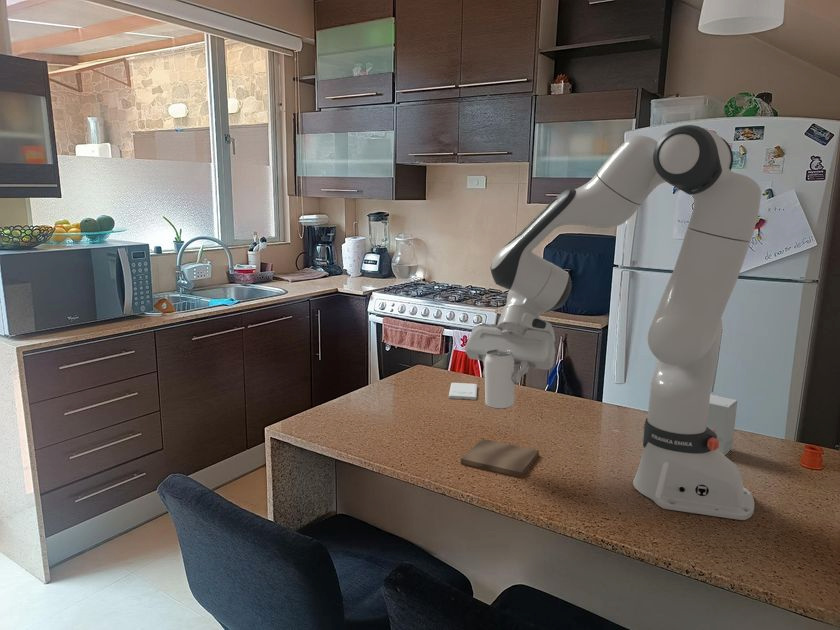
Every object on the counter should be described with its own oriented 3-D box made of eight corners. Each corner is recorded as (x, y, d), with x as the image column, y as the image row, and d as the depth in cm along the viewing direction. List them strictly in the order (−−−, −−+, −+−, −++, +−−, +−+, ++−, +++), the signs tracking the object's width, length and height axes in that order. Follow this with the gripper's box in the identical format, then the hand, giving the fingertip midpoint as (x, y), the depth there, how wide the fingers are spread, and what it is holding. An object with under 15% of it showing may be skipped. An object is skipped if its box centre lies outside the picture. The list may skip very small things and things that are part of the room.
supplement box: (732, 449, 146) (739, 399, 143) (722, 459, 140) (729, 407, 138) (700, 441, 151) (706, 392, 148) (690, 449, 145) (695, 399, 143)
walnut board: (538, 455, 140) (538, 450, 140) (521, 477, 129) (521, 472, 129) (482, 443, 147) (482, 438, 146) (460, 463, 135) (460, 458, 135)
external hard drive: (477, 388, 190) (476, 401, 178) (450, 387, 191) (448, 400, 179) (477, 383, 190) (476, 396, 178) (451, 382, 191) (448, 395, 179)
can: (519, 402, 136) (518, 350, 134) (507, 411, 131) (506, 357, 129) (493, 398, 140) (492, 347, 138) (480, 406, 134) (479, 354, 132)
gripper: (471, 314, 142) (453, 364, 136) (558, 324, 133) (543, 378, 126) (478, 329, 147) (460, 378, 140) (562, 340, 138) (547, 393, 131)
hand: (500, 378), depth 133 cm, fingers closed on can, 5 cm apart
